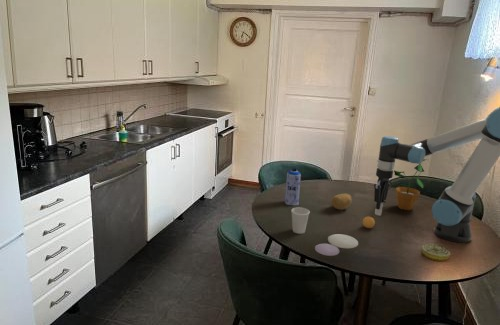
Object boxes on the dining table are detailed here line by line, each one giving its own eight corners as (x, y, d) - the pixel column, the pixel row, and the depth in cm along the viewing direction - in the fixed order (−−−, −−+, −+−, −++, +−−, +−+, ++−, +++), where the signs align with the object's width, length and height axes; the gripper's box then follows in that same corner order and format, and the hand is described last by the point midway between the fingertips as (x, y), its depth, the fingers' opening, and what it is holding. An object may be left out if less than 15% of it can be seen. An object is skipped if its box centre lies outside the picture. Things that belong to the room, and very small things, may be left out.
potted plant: (430, 211, 201) (440, 158, 193) (403, 215, 194) (412, 160, 186) (406, 200, 217) (414, 150, 209) (380, 203, 210) (387, 151, 202)
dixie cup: (310, 229, 172) (312, 209, 170) (303, 236, 165) (305, 215, 163) (294, 225, 176) (295, 205, 174) (286, 231, 169) (288, 211, 167)
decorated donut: (447, 253, 156) (449, 245, 155) (450, 265, 147) (452, 256, 146) (420, 247, 160) (422, 239, 159) (421, 259, 150) (423, 250, 149)
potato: (355, 207, 201) (357, 194, 199) (341, 214, 192) (343, 200, 190) (340, 202, 208) (341, 189, 206) (325, 208, 198) (327, 194, 196)
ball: (376, 227, 177) (377, 217, 176) (370, 231, 174) (371, 220, 172) (365, 224, 181) (367, 213, 180) (359, 227, 177) (361, 216, 176)
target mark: (363, 242, 162) (363, 241, 162) (347, 251, 153) (347, 251, 153) (338, 231, 171) (338, 231, 171) (321, 240, 162) (321, 239, 162)
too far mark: (344, 250, 154) (344, 250, 154) (330, 258, 147) (330, 257, 147) (324, 241, 161) (324, 241, 161) (310, 248, 154) (310, 248, 154)
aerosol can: (283, 204, 202) (285, 168, 197) (286, 199, 210) (288, 165, 204) (297, 206, 200) (300, 170, 195) (300, 201, 207) (302, 167, 202)
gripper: (384, 164, 184) (377, 208, 190) (371, 169, 175) (364, 215, 181) (398, 168, 178) (391, 213, 185) (386, 173, 170) (378, 220, 176)
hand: (377, 214), depth 183 cm, fingers closed
